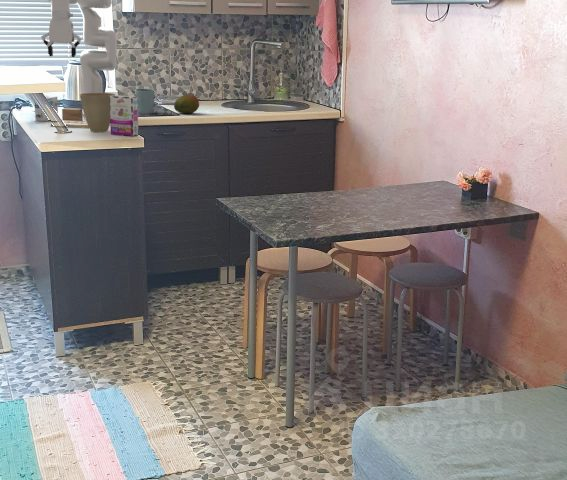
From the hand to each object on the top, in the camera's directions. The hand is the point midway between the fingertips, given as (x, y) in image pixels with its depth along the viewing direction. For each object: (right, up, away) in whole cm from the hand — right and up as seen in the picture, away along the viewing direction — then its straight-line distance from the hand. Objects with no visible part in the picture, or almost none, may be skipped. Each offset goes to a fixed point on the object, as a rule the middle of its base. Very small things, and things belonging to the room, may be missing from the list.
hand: (62, 56), depth 352 cm
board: (+2, -28, +13) cm, 31 cm away
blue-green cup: (+25, -14, +67) cm, 73 cm away
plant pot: (+16, -33, -2) cm, 37 cm away
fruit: (+46, -14, +70) cm, 85 cm away
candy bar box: (+29, -36, -10) cm, 47 cm away
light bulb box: (-15, -24, +28) cm, 39 cm away
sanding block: (-2, -25, +25) cm, 35 cm away
